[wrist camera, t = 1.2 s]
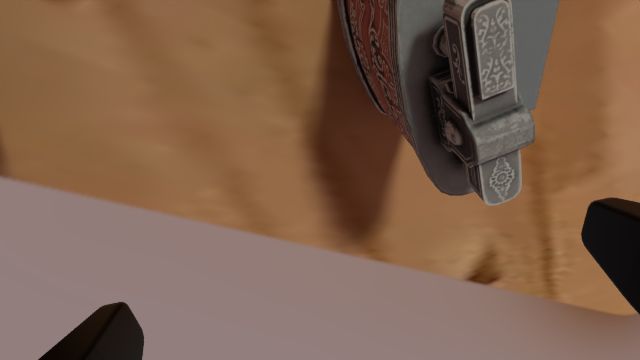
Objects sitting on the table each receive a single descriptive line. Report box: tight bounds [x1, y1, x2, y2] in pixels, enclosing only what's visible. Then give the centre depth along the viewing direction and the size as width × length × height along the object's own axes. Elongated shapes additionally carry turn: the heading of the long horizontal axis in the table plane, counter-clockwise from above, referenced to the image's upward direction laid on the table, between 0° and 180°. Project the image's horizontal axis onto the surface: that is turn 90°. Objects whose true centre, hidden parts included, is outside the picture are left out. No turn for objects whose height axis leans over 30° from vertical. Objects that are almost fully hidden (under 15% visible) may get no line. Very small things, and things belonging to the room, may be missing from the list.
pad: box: [511, 0, 559, 110], centre depth 19 cm, size 6×10×1 cm, turn 5°
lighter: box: [337, 0, 535, 206], centre depth 15 cm, size 8×3×10 cm, turn 19°
